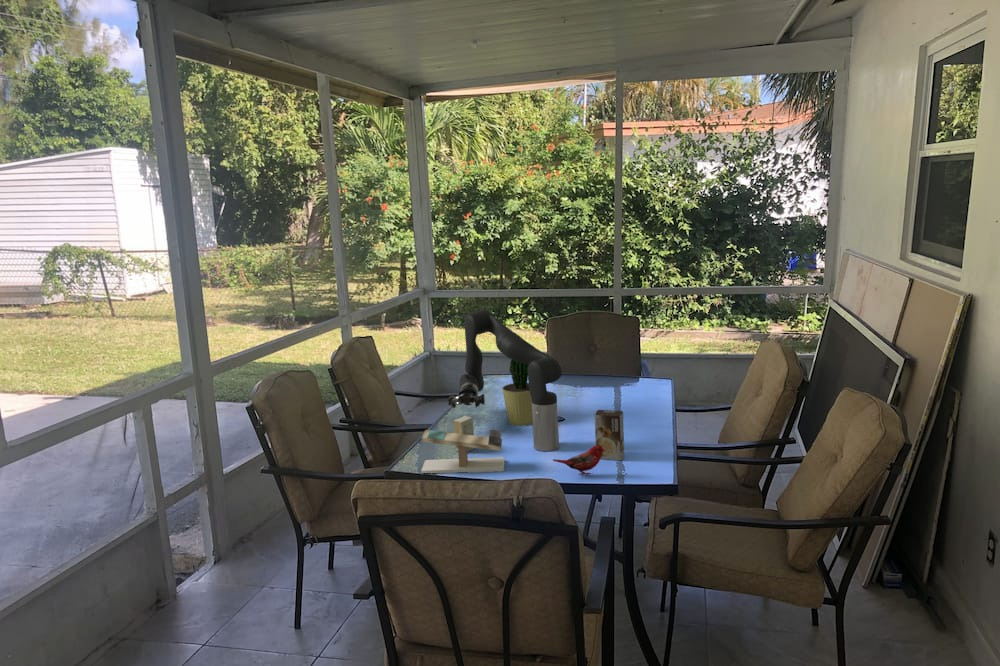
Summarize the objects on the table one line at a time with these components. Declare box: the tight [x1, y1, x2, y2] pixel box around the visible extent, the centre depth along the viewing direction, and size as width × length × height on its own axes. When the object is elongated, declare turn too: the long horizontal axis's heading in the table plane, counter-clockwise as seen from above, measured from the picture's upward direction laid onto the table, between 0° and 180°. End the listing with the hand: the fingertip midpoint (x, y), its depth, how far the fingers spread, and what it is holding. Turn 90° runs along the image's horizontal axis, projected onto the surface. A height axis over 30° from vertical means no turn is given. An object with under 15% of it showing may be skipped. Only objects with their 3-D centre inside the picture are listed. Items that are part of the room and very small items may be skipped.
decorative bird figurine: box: [552, 444, 605, 475], centre depth 218 cm, size 3×18×10 cm, turn 95°
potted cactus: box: [501, 359, 533, 427], centre depth 276 cm, size 15×15×30 cm
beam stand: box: [420, 446, 506, 475], centre depth 231 cm, size 28×10×8 cm, turn 88°
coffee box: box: [594, 409, 625, 461], centre depth 233 cm, size 9×6×16 cm
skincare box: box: [453, 415, 475, 453], centre depth 247 cm, size 6×4×12 cm
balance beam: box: [421, 429, 503, 452], centre depth 230 cm, size 27×8×4 cm, turn 88°
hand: (465, 405), depth 257 cm, fingers open, 8 cm apart
